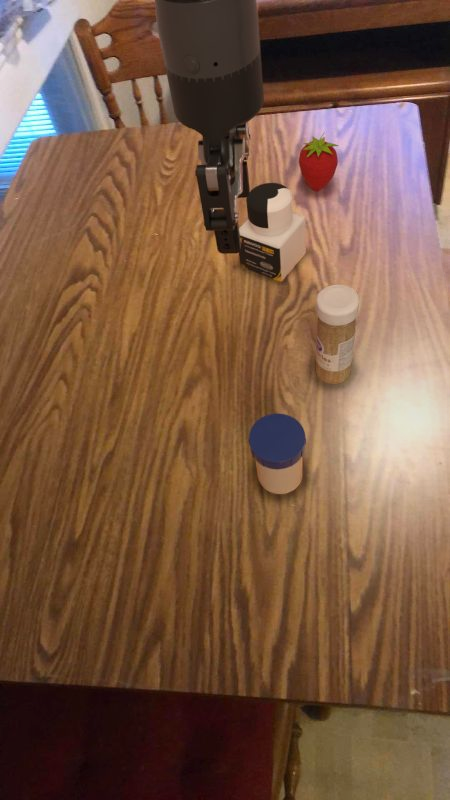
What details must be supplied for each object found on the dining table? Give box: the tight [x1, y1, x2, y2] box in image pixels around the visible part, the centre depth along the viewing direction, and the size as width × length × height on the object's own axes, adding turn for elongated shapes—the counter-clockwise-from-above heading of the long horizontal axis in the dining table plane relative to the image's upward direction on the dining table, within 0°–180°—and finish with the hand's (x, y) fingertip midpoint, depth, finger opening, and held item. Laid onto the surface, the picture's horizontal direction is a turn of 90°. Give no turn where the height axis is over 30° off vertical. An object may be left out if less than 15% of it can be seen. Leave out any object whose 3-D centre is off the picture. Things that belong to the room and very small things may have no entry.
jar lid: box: [248, 413, 307, 470], centre depth 57 cm, size 6×6×2 cm
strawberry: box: [298, 131, 339, 192], centre depth 87 cm, size 6×8×10 cm
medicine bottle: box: [238, 182, 307, 282], centre depth 78 cm, size 7×7×12 cm
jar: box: [254, 457, 304, 495], centre depth 60 cm, size 5×5×8 cm
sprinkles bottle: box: [315, 283, 360, 385], centre depth 65 cm, size 5×5×13 cm
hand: (234, 222), depth 57 cm, fingers open, 8 cm apart
